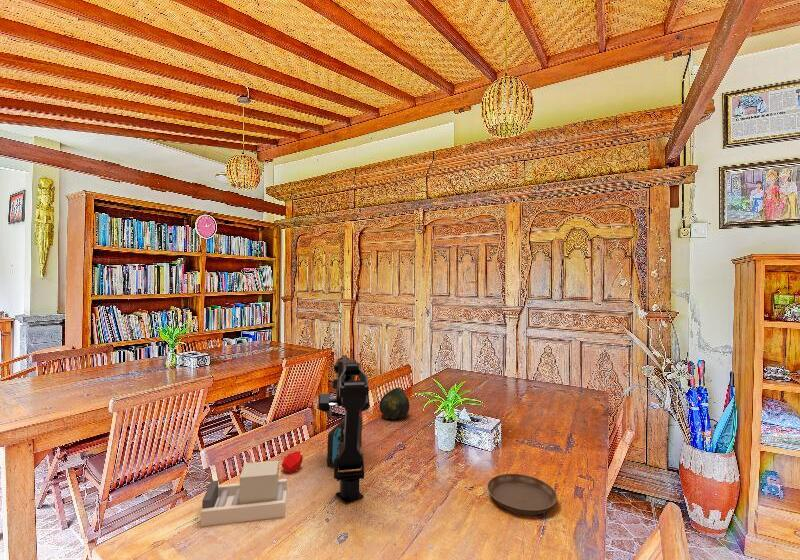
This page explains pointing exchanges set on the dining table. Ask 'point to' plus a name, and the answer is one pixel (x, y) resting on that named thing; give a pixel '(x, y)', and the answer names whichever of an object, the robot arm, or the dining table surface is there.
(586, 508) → the dining table surface
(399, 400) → the squash
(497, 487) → the plant saucer
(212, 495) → the rubber stop
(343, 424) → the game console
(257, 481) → the beige block
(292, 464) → the apple
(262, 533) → the dining table surface
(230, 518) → the roller bed
